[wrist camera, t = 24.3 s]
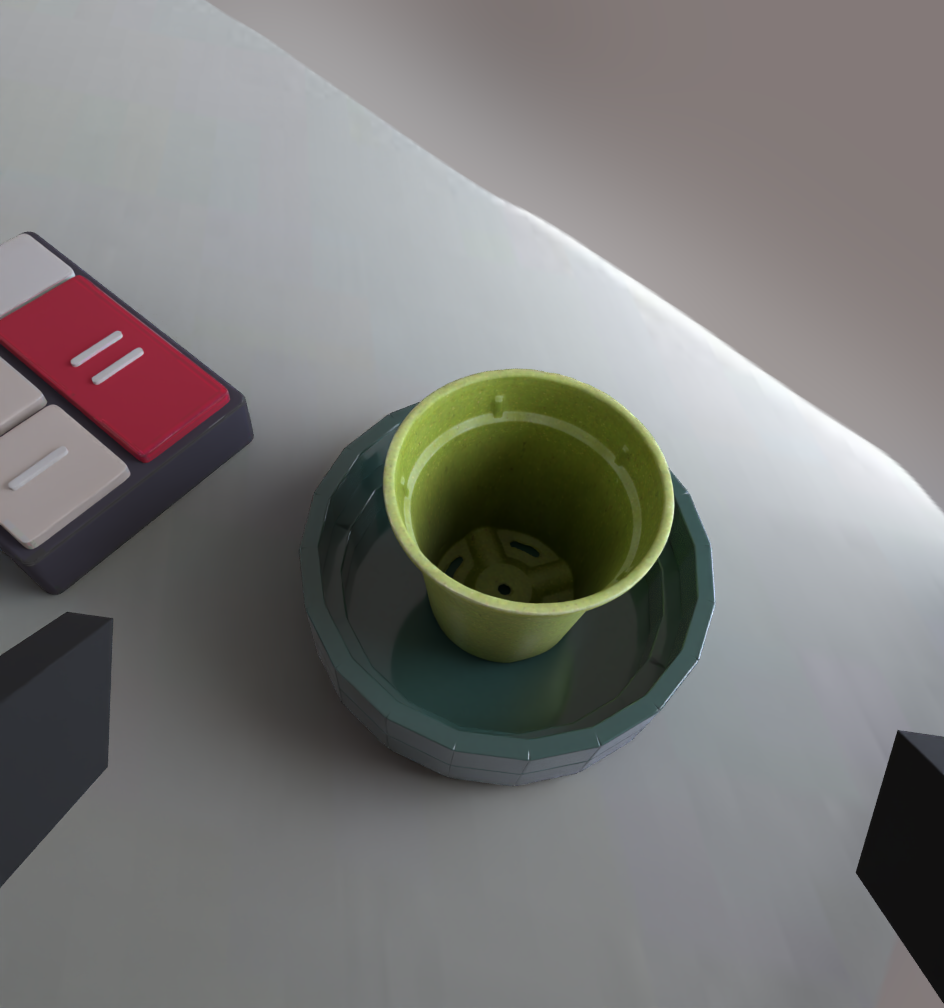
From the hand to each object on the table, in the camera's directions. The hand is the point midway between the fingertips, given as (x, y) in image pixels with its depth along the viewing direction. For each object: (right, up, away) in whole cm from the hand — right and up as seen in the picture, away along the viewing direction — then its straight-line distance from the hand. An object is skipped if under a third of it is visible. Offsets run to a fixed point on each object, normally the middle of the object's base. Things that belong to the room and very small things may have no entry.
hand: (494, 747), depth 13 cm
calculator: (-20, +8, +23) cm, 31 cm away
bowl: (+1, 0, +19) cm, 19 cm away
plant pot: (+1, 0, +19) cm, 19 cm away
